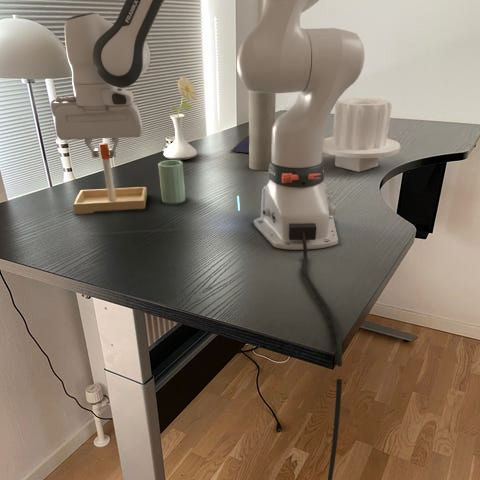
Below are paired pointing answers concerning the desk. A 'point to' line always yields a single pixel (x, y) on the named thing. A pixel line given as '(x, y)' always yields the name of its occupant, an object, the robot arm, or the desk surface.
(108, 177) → the marker
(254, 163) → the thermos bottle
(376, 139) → the flanged gear
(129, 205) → the tray
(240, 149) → the blue flat triangle
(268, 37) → the robot arm
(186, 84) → the flower in vase
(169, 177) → the pen cup
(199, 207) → the desk surface
